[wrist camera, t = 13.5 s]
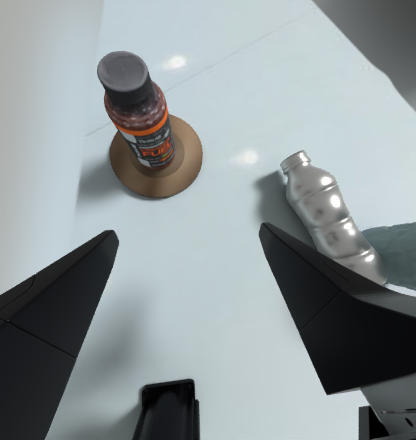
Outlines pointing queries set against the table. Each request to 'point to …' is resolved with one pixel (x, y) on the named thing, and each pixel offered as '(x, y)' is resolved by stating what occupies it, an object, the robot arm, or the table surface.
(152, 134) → the supplement bottle
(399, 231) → the grey-green cup
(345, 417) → the table surface
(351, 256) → the plastic bottle
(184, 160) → the disc
